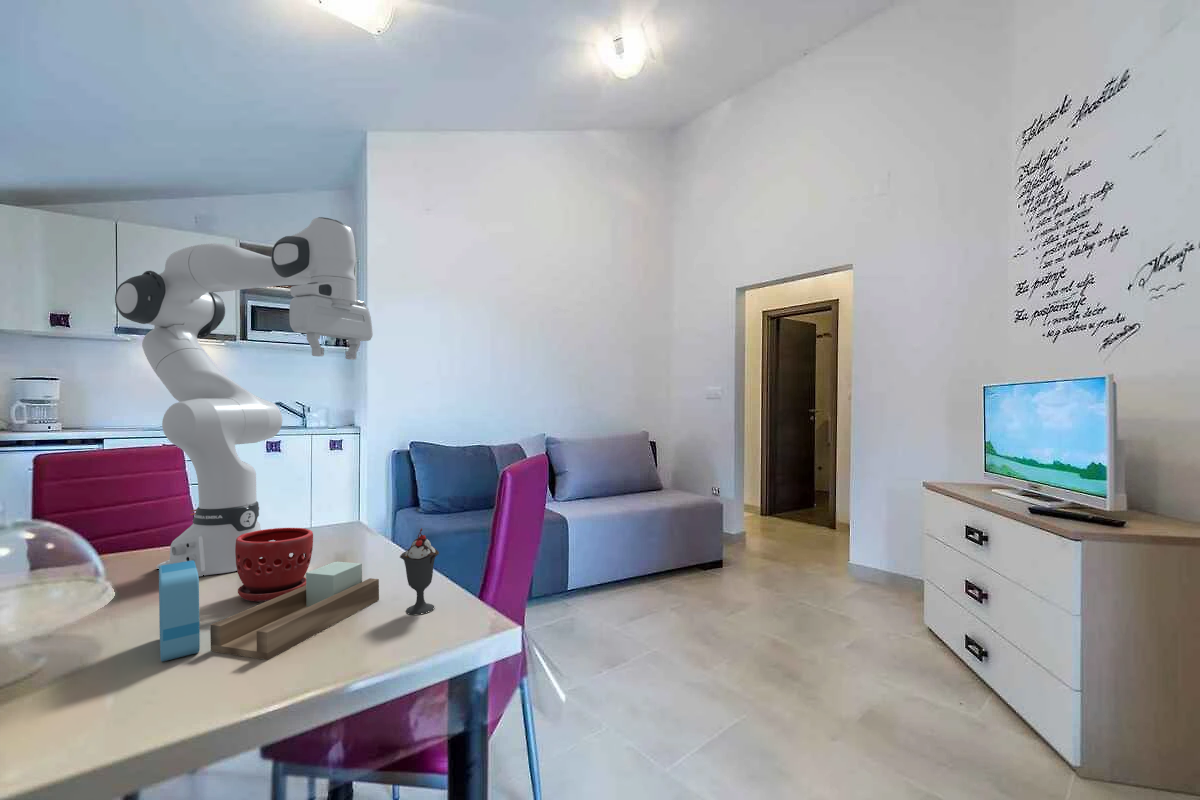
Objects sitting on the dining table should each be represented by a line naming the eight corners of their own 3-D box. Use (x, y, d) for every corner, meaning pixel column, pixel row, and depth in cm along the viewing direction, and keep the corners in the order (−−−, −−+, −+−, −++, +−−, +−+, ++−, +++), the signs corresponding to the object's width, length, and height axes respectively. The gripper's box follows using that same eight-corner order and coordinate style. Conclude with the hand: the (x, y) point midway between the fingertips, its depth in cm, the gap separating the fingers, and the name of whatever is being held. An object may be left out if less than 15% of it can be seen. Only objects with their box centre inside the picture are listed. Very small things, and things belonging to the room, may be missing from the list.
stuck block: (306, 606, 95) (306, 572, 95) (336, 592, 102) (335, 561, 102) (334, 609, 93) (333, 575, 93) (362, 595, 100) (361, 563, 100)
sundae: (419, 619, 91) (418, 532, 91) (392, 612, 95) (391, 528, 95) (447, 606, 97) (446, 524, 97) (421, 600, 100) (420, 520, 100)
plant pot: (256, 611, 96) (255, 545, 96) (223, 598, 103) (222, 536, 103) (326, 589, 107) (326, 530, 107) (292, 578, 114) (291, 522, 114)
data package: (199, 655, 80) (198, 575, 80) (160, 665, 77) (159, 582, 77) (194, 630, 89) (193, 558, 89) (159, 638, 86) (158, 563, 86)
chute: (210, 651, 81) (210, 624, 81) (331, 595, 104) (331, 574, 104) (267, 659, 78) (267, 632, 78) (379, 600, 101) (378, 579, 101)
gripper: (356, 303, 126) (357, 361, 126) (283, 285, 107) (284, 354, 107) (378, 301, 125) (379, 360, 125) (308, 283, 105) (309, 353, 105)
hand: (335, 357), depth 116 cm, fingers open, 8 cm apart
